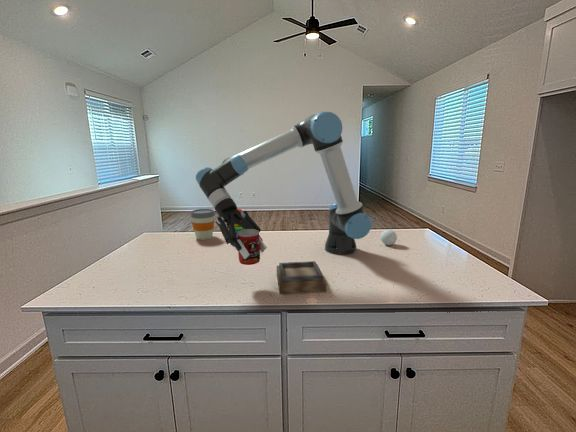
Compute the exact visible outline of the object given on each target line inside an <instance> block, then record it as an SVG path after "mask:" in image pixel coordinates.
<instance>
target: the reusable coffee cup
mask: <svg viewBox="0 0 576 432" xmlns="http://www.w3.org/2000/svg"><path fill="white" fill-rule="evenodd" d="M190 218H191V220H192V221H191V224H192V229H193V230H194V235H195V238H196V239H197V240H210V239H212V238H213V237H214V236H213V235H214V234H213V233H214V228H215V209H211V208H199V209H194V210H191V211H190Z"/></svg>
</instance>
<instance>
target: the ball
mask: <svg viewBox="0 0 576 432" xmlns="http://www.w3.org/2000/svg"><path fill="white" fill-rule="evenodd" d="M380 240H381V243H382V244H383V245H386V246H392V245H395V243H396V242H397V240H398V235H397V232H396V231H394V230H392V229H385V230H383V231H382V232H381V234H380Z"/></svg>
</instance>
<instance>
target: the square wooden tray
mask: <svg viewBox="0 0 576 432" xmlns="http://www.w3.org/2000/svg"><path fill="white" fill-rule="evenodd" d="M276 279H277V285H278V291H279V295H290V294H294V295H295V294H306V293H307V294H309V293H312V294H313V293H326V292H327V280H326V278H325V275H324V274H323V272H322V271H321V268H320V267H319V265H318V263H317V262H316V261H315V260H314V261H312V260H311V261H292V262H291V261H290V262H289V261H288V262H287V261H286V262H279V263H278V265H276Z"/></svg>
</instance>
